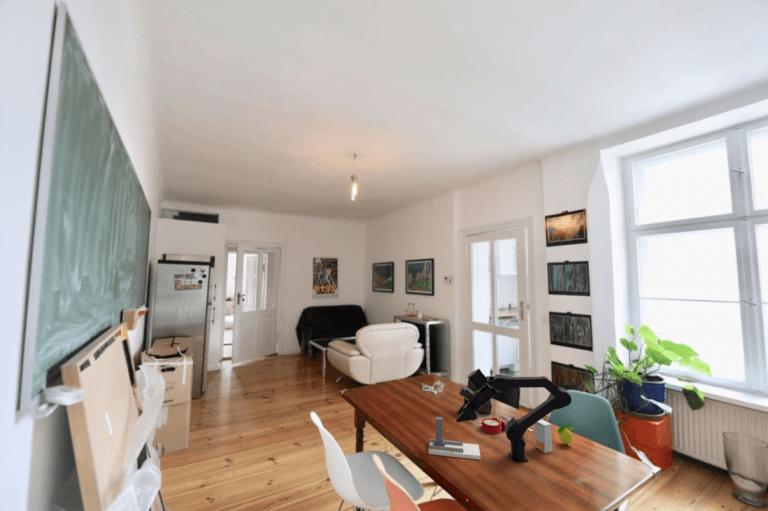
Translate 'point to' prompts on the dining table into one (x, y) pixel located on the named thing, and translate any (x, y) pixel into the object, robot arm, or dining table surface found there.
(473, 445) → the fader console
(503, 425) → the alarm clock
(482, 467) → the dining table surface
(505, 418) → the fork
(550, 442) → the skincare box
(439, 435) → the fader tab
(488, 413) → the owl
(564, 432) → the lemon
